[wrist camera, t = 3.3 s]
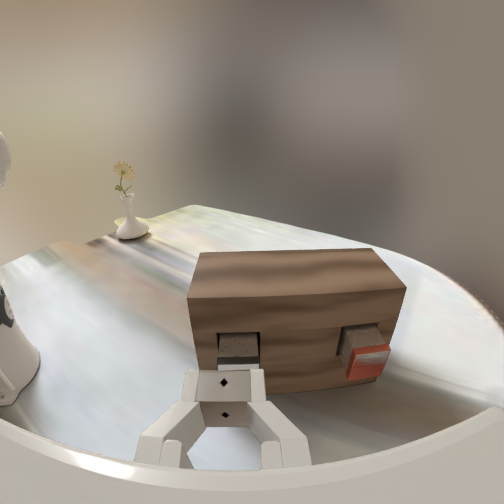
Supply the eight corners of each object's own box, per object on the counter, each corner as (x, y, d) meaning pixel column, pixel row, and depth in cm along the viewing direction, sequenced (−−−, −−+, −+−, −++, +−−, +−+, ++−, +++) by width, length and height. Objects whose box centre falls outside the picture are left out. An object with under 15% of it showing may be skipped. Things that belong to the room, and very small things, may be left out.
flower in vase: (155, 234, 91) (147, 158, 81) (126, 245, 83) (114, 164, 73) (136, 226, 99) (128, 158, 88) (109, 236, 91) (99, 164, 80)
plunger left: (259, 389, 28) (259, 363, 27) (220, 390, 28) (216, 364, 26) (256, 341, 36) (256, 315, 34) (223, 341, 35) (220, 315, 34)
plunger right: (380, 375, 29) (390, 349, 27) (347, 381, 29) (355, 354, 27) (360, 333, 36) (366, 307, 34) (331, 336, 36) (335, 310, 34)
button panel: (375, 381, 36) (406, 287, 29) (204, 395, 35) (186, 297, 28) (353, 334, 46) (371, 248, 39) (210, 342, 45) (200, 252, 38)
